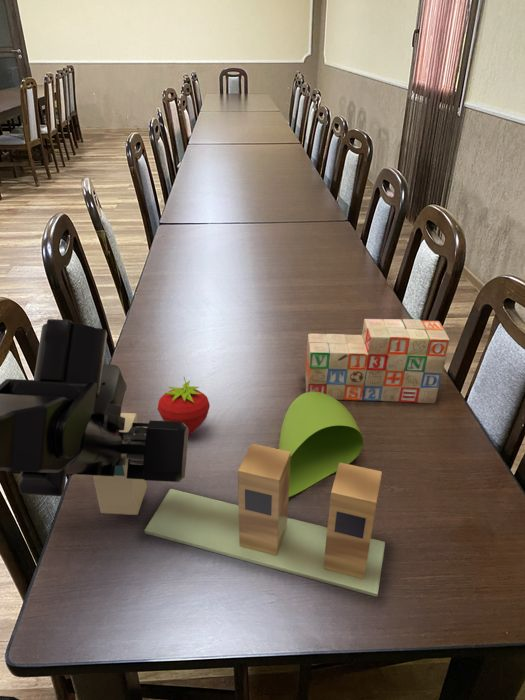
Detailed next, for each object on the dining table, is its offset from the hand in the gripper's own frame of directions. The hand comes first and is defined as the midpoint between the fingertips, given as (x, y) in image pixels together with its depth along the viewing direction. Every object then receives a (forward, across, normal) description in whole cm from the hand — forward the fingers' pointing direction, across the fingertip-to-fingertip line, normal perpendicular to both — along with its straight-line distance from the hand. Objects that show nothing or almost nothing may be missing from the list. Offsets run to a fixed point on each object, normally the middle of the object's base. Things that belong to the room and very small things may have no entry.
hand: (121, 452), depth 65 cm
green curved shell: (+14, -24, -2) cm, 28 cm away
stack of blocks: (+25, -34, -13) cm, 44 cm away
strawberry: (+16, -5, -4) cm, 17 cm away
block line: (+3, -18, +9) cm, 20 cm away
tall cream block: (+4, 0, +6) cm, 7 cm away
